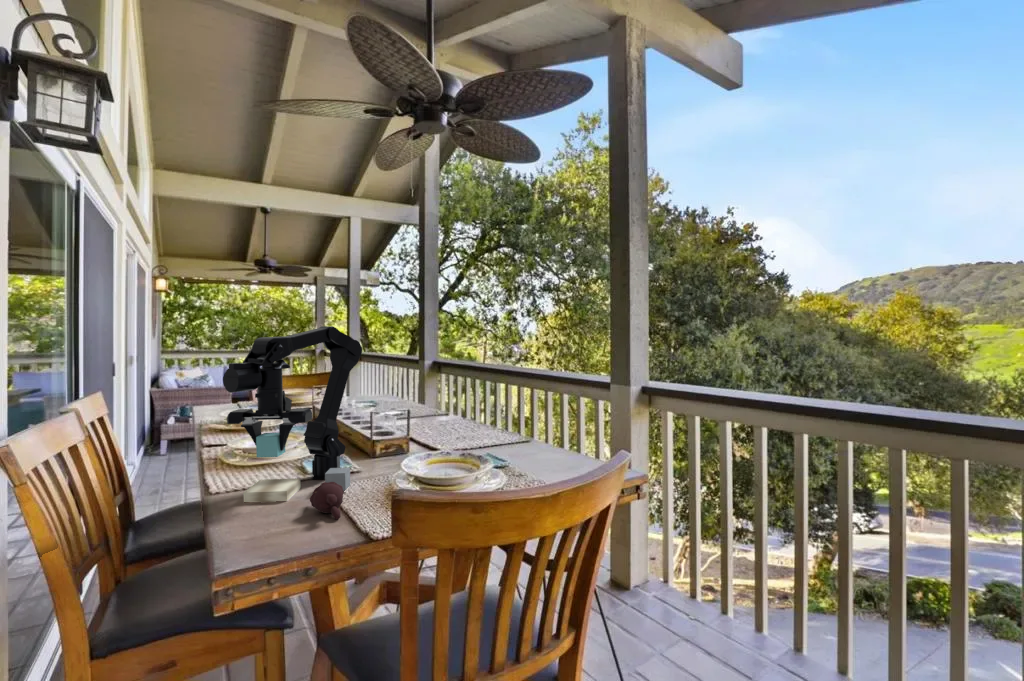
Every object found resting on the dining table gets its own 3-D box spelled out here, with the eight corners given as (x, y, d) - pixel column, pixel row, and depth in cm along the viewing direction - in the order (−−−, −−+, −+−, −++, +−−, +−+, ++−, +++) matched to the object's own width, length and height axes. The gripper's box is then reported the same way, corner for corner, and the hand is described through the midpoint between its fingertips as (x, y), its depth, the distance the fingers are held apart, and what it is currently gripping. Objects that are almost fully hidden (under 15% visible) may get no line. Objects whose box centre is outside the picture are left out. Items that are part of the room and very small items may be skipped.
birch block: (300, 489, 135) (300, 478, 134) (287, 503, 125) (286, 490, 125) (260, 491, 134) (260, 479, 134) (243, 505, 124) (243, 492, 124)
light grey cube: (350, 486, 136) (349, 467, 136) (345, 492, 131) (345, 473, 131) (330, 487, 136) (330, 468, 135) (325, 493, 131) (324, 473, 130)
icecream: (301, 478, 122) (313, 503, 109) (332, 466, 125) (348, 488, 112) (309, 504, 123) (321, 531, 110) (340, 491, 127) (356, 516, 114)
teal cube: (285, 452, 132) (285, 432, 132) (277, 457, 127) (277, 436, 127) (265, 452, 132) (264, 432, 131) (256, 457, 127) (256, 437, 126)
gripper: (318, 383, 137) (319, 442, 138) (246, 384, 136) (247, 443, 137) (304, 389, 126) (305, 452, 127) (225, 390, 125) (226, 454, 126)
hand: (271, 450), depth 129 cm, fingers closed on teal cube, 5 cm apart
